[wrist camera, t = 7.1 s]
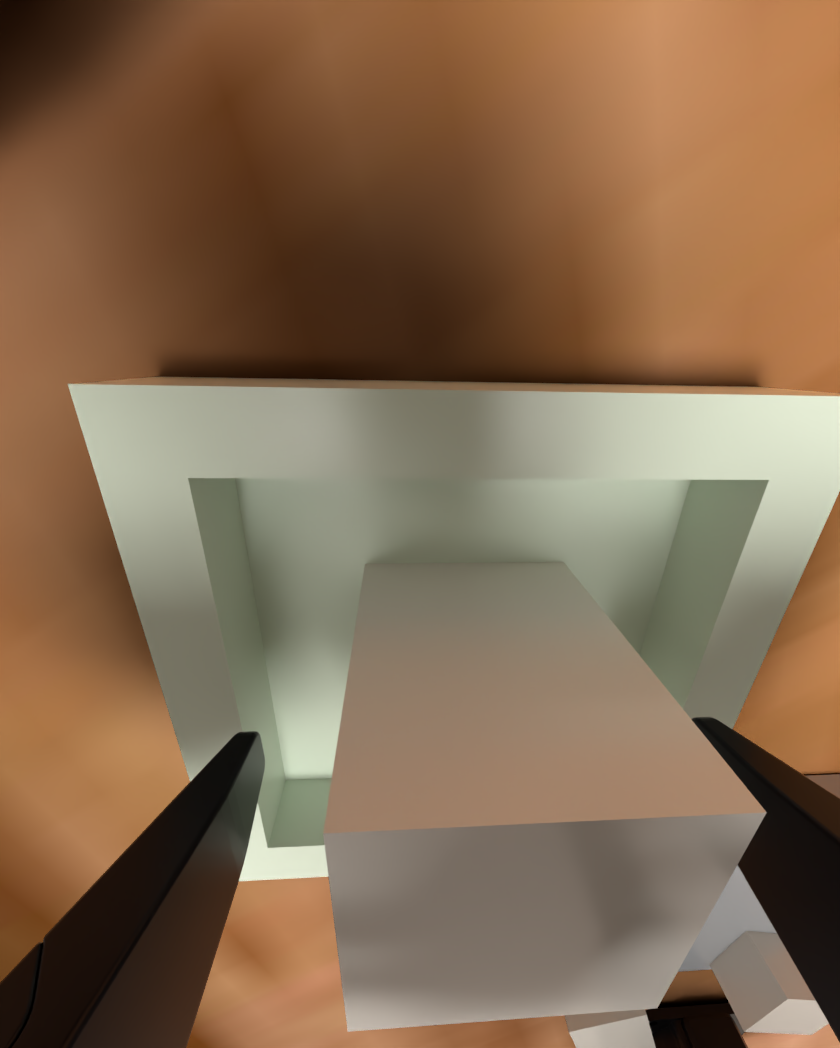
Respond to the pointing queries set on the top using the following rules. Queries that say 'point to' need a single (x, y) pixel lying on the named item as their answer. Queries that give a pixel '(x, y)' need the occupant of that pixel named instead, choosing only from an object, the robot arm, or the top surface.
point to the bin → (439, 537)
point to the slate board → (728, 972)
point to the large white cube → (515, 805)
